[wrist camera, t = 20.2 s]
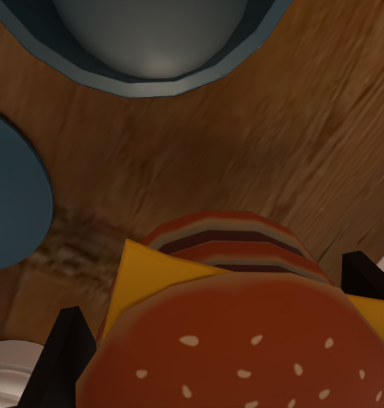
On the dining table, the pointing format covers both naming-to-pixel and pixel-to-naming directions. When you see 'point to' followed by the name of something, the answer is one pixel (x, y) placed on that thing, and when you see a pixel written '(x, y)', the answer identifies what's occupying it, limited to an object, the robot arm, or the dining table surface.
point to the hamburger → (232, 324)
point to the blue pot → (142, 40)
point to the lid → (22, 197)
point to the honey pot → (16, 369)
